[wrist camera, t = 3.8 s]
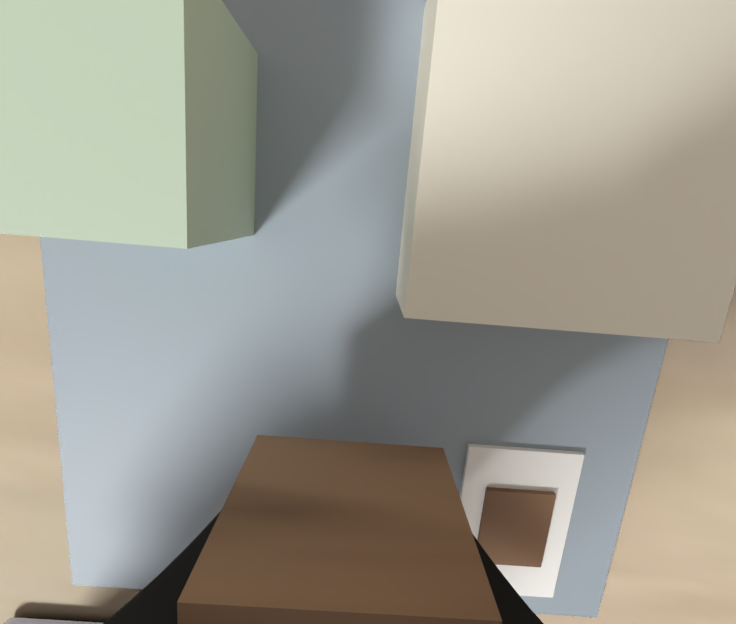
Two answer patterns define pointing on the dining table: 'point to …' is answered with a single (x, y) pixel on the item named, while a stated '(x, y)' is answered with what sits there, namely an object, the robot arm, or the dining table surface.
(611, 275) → the cream base block
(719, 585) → the dining table surface
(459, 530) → the walnut block
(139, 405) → the board
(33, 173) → the sage block
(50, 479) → the dining table surface
